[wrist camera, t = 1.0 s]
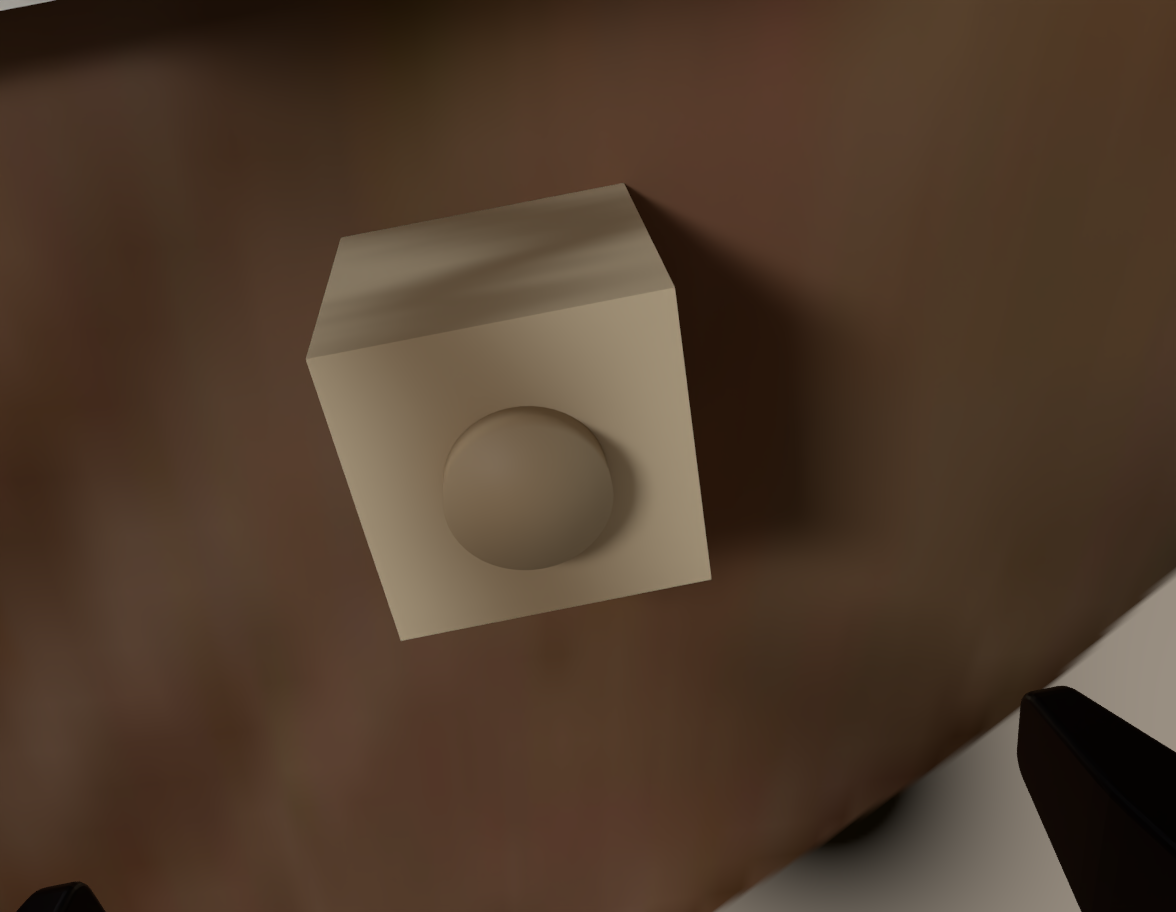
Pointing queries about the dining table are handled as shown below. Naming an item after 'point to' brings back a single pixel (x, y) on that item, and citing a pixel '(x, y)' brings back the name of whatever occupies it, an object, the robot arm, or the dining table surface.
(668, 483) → the snap block
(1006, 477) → the dining table surface
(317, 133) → the dining table surface
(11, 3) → the grey square base plate
